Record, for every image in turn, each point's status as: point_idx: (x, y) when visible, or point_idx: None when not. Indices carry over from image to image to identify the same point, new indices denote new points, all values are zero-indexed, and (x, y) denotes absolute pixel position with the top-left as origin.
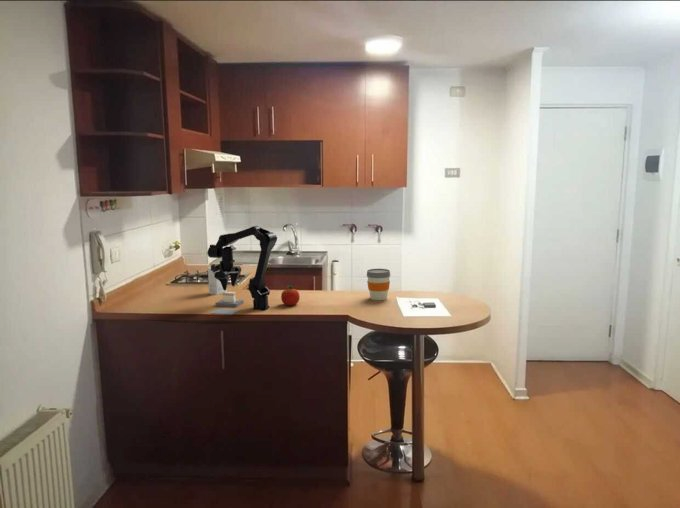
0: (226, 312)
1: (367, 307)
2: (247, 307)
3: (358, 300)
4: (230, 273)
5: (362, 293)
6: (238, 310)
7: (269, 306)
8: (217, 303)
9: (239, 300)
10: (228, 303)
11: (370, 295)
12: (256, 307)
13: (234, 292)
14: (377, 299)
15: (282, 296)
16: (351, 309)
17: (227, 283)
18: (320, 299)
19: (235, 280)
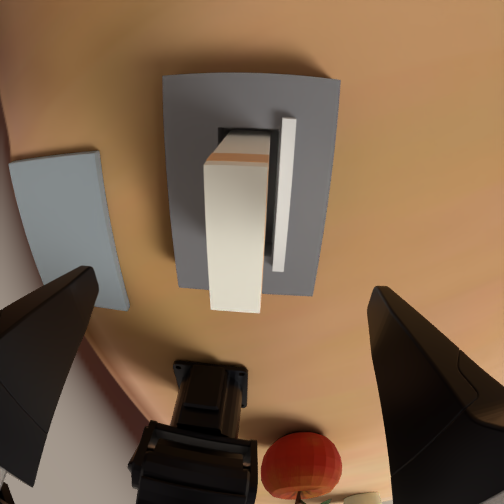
0: (50, 260)
1: (283, 499)
2: (217, 324)
3: (346, 490)
4: (492, 486)
5: None
6: (112, 308)
7: (241, 407)
8: (163, 100)
9: (299, 269)
10: (174, 216)
11: (357, 501)
12: (183, 380)
13: (238, 311)
14: (344, 500)
15: (273, 466)
16: (262, 493)
17: (56, 393)
18: (371, 462)
19: (383, 410)
